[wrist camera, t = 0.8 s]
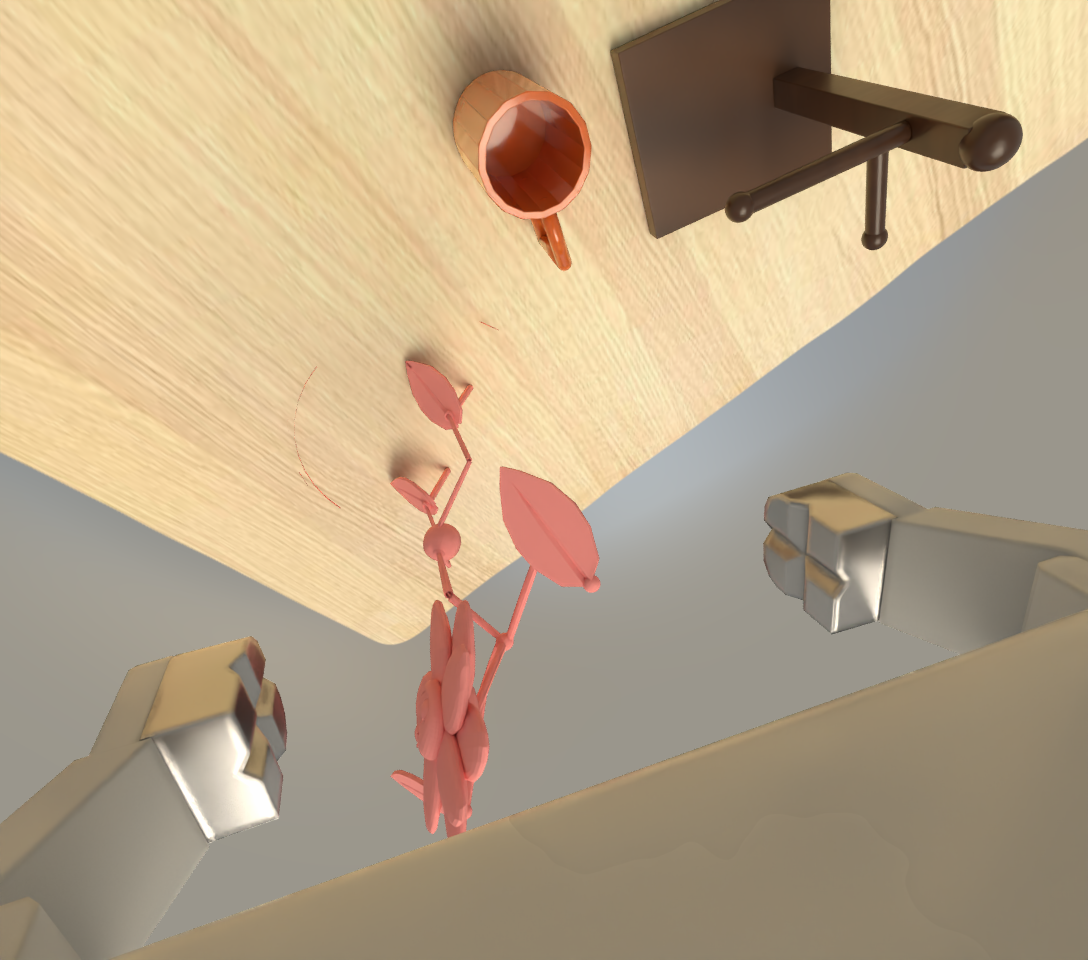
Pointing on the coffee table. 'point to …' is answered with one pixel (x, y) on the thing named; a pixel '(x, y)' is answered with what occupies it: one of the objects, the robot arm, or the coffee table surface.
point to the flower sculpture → (446, 691)
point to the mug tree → (775, 116)
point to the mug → (524, 151)
